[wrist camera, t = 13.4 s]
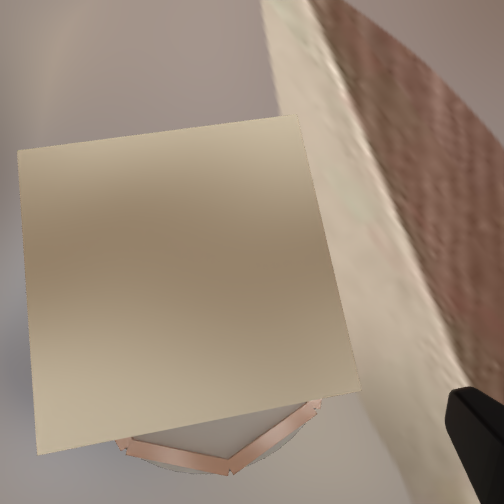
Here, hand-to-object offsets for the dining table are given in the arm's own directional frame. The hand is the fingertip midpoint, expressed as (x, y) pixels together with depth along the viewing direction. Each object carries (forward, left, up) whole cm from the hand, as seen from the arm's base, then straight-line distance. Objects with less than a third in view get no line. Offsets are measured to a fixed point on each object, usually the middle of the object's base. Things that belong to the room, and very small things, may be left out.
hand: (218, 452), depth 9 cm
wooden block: (+1, +3, -12) cm, 13 cm away
